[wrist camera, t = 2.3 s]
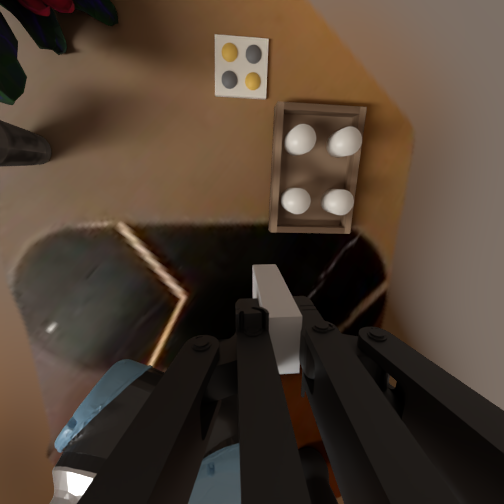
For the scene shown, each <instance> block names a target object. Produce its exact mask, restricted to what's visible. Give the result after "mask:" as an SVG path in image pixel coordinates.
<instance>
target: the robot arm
mask: <svg viewBox="0 0 504 504" xmlns="http://www.w3.org/2000/svg"><path fill="white" fill-rule="evenodd" d="M235 307H236V333H235V334H234V336H232V337H231V338H230V339H220V340H217V339H216V338H215V337H213V336H209V335H199V336H196V337H193V338H191V339H189V340H188V341H187V342H186V343H185V344H184V345H183V347H182V348H181V350H180V351H179V353H178V354H177V356H176V357H175V359H174V360H173V362H172V363H171V365H170V366H169V368H168V369H167V371H166V372H165V373H164V372H162V371H159V370H157V369H155V368H153V366H151V365H148V366H147V365H144V364H141V363H138V362H136V361H133V360H130V359H124V360H121V361H119V362H117V363H115V364H114V365H113V366H112V367H111V368H110V369H109V370H108V371H107V372H106V374H105V375H104V376H103V377H102V378H101V379H100V381H99V382H98V383H97V384H96V385H95V387H94V388H93V389H92V390H91V392H90V393H89V394H88V396H87V397H86V398H85V399H84V401H83V402H82V403H81V405H80V406H79V407H78V409H77V410H76V412H75V413H74V415H73V417H72V418H71V419H70V420H69V422H68V423H67V425H66V426H65V427H64V428H63V430H62V431H61V433H60V434H59V436H58V437H57V439H56V441H55V448H56V449H57V450H58V452H62V451H64V452H63V454H62V456H61V457H60V459H59V461H58V462H57V464H56V466H55V467H54V469H53V471H52V473H53V481H54V488H55V490H54V497H53V499H52V501H51V503H50V504H311V500H310V496H309V492H308V488H307V484H306V480H305V476H304V472H303V468H302V464H301V460H300V456H299V452H298V447H297V443H296V439H295V435H294V431H293V427H292V423H291V419H290V415H289V411H288V407H287V403H286V399H285V395H284V391H283V387H282V383H281V379H280V375H279V374H290V373H299V368H300V364H301V367H302V369H303V372H302V388H301V396H302V397H304V393H305V391H306V394H307V396H308V399H309V402H310V405H311V408H312V411H313V414H314V417H315V420H316V423H317V426H318V428H319V431H320V434H321V437H322V440H323V443H324V446H325V449H326V452H327V455H328V458H329V461H330V463H331V466H332V469H333V472H334V475H335V478H336V481H337V484H338V487H339V490H340V493H341V495H342V498H343V501H344V504H504V411H503V410H502V409H500V408H499V407H497V406H496V405H494V404H493V403H491V402H490V401H489V400H487V399H486V398H484V397H483V396H481V395H480V394H478V393H477V392H475V391H474V390H472V389H471V388H469V387H468V386H467V385H465V384H464V383H462V382H461V381H459V380H458V379H457V378H455V377H454V376H452V375H451V374H449V373H448V372H446V371H445V370H443V369H442V368H440V367H439V366H438V365H436V364H434V363H433V362H432V361H430V360H429V359H427V358H426V357H424V356H423V355H422V354H420V353H418V352H417V351H416V350H414V349H413V348H411V347H410V346H408V345H407V344H406V343H404V342H402V341H401V340H400V339H398V338H397V337H395V336H394V335H392V334H391V333H389V332H387V331H386V330H383V329H380V328H378V327H364V328H361V329H360V330H359V333H358V336H352V335H346V334H341V333H340V331H339V330H338V328H337V327H336V326H335V325H334V324H332V323H330V322H327V321H324V320H323V318H322V317H321V315H320V314H319V312H318V310H317V309H316V307H315V306H314V304H313V303H312V301H311V300H310V299H308V298H307V297H305V296H292V295H291V293H290V291H289V289H288V287H287V285H286V283H285V281H284V279H283V277H282V275H281V273H280V272H279V270H278V268H277V266H276V264H270V265H253V298H248V299H239V300H238V301H237V302H236V303H235ZM389 376H392V377H393V378H394V379H395V380H396V381H397V383H396V387H395V388H394V387H393V386H392V385H390V384H389Z"/></svg>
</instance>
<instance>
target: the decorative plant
mask: <svg viewBox="0 0 504 504" xmlns="http://www.w3.org/2000/svg"><path fill="white" fill-rule="evenodd" d="M0 5H1V6H3V7H4V8H5V9H7V10H8V11H10V12H11V13H12V14H13V15H14V16H15V17H16V18H17V19H18V20H19V21H20V23H21V24H22V25H23V27H24V28H25V29H26V31H27V32H28V33H29V35H30V36H31V37H32V39H33V40H34V41H35V43H36V44H37V45H38V47H39V48H40V49H49V50H53V51H54V52H56V53H57V54H58V55H60V54H63V53H65V52H66V49H67V45H66V41H65V38H64V36H63V33H62V30H61V27H60V25H59V23H58V21H57V19H56V17H55V14H54V12H53V10H52V8H53V9H55V10H56V11H58V12H60V13H72V12H73V11H74V9H76V10H80V11H83V12H86V13H87V14H89V15H91V16H92V17H94V18H95V19H97V20H99V21H101V22H103V23H105V24H106V25H109V26H113V25H115V24H117V23H118V16H117V11H116V9H115V6H114V5H113V4H112V2H111V1H110V0H0ZM17 51H18V41H17V39H16V37H15V36H14V34H13V32H12V30H11V29H10V27H9V25H8V23H7V22H6V20H5V18H4V17H3V15H2V13H1V12H0V102H2V103H5V104H9V105H13V104H14V103H15V101H16V100H17V99H18V98H19V97H20V96H21V95H22V94H23V93H24V89H25V84H26V79H27V76H26V74H25V73H24V71H23V69H22V67H21V65H20V63H19V61H18V60H17Z"/></svg>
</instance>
